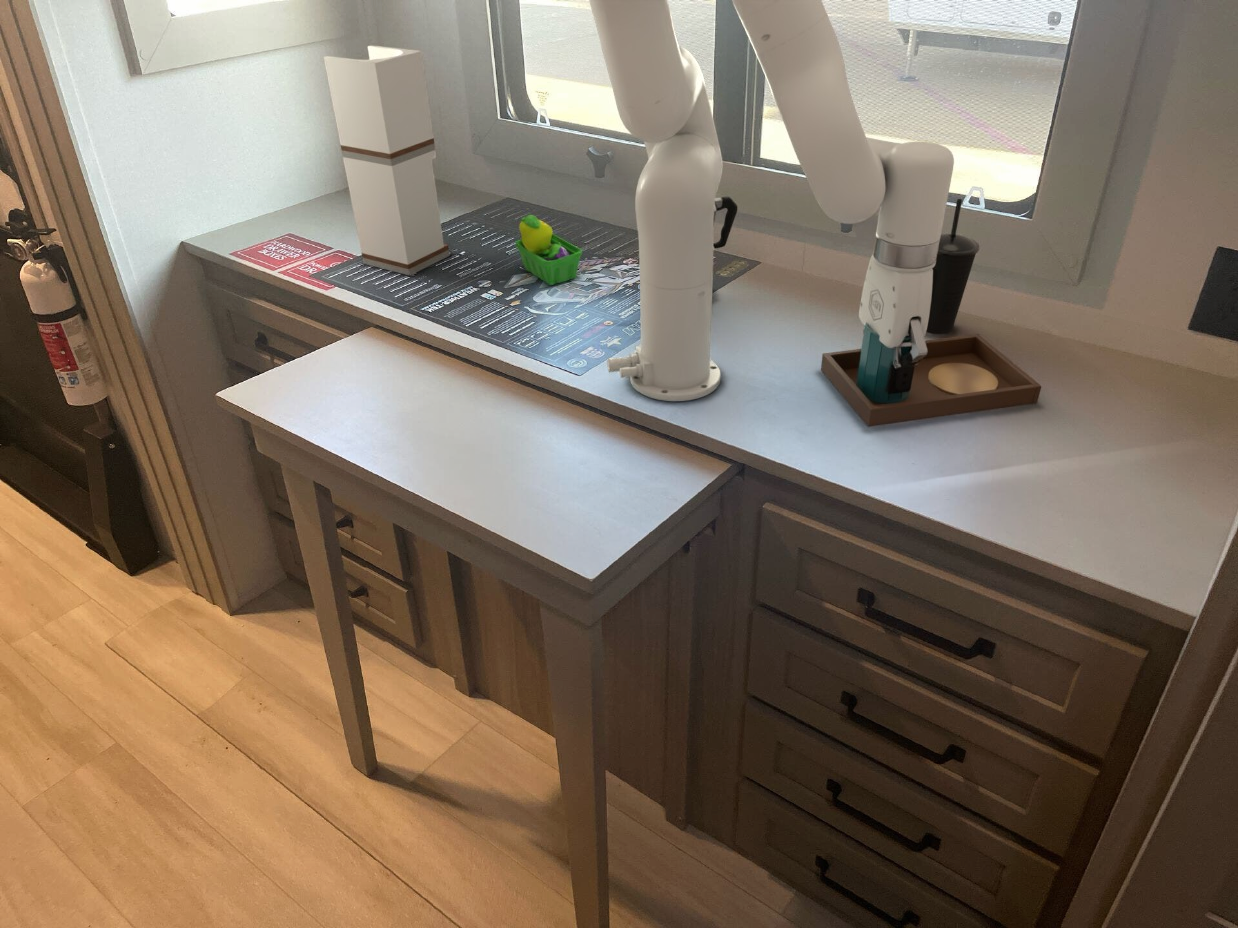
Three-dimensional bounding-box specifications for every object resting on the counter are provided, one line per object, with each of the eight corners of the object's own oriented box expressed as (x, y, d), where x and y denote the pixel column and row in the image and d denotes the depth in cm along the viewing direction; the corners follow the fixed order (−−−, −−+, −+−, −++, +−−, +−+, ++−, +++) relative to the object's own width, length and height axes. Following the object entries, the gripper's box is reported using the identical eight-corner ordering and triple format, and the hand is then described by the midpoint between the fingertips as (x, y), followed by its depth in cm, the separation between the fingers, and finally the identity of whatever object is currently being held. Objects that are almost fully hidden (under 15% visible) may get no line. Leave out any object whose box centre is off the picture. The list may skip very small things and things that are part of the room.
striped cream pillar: (449, 255, 169) (421, 51, 149) (409, 275, 162) (374, 63, 142) (404, 244, 174) (371, 45, 154) (363, 263, 167) (323, 57, 147)
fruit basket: (586, 279, 158) (583, 215, 152) (542, 291, 154) (536, 226, 148) (552, 259, 166) (548, 197, 160) (509, 271, 162) (503, 208, 156)
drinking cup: (964, 343, 135) (992, 210, 124) (910, 339, 136) (933, 207, 125) (959, 320, 141) (985, 192, 130) (907, 317, 143) (929, 190, 131)
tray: (867, 430, 116) (870, 409, 114) (820, 373, 129) (822, 353, 127) (1036, 406, 120) (1042, 386, 118) (974, 353, 132) (978, 333, 131)
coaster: (948, 400, 120) (949, 398, 120) (916, 369, 128) (916, 367, 128) (1011, 392, 122) (1011, 390, 122) (975, 361, 129) (976, 359, 129)
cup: (869, 406, 120) (879, 341, 114) (847, 381, 125) (856, 317, 120) (918, 400, 121) (930, 335, 115) (894, 375, 126) (905, 312, 121)
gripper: (847, 228, 118) (832, 351, 128) (910, 280, 104) (887, 414, 114) (901, 223, 119) (882, 345, 130) (970, 274, 105) (942, 407, 115)
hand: (884, 376), depth 122 cm, fingers closed on cup, 7 cm apart
